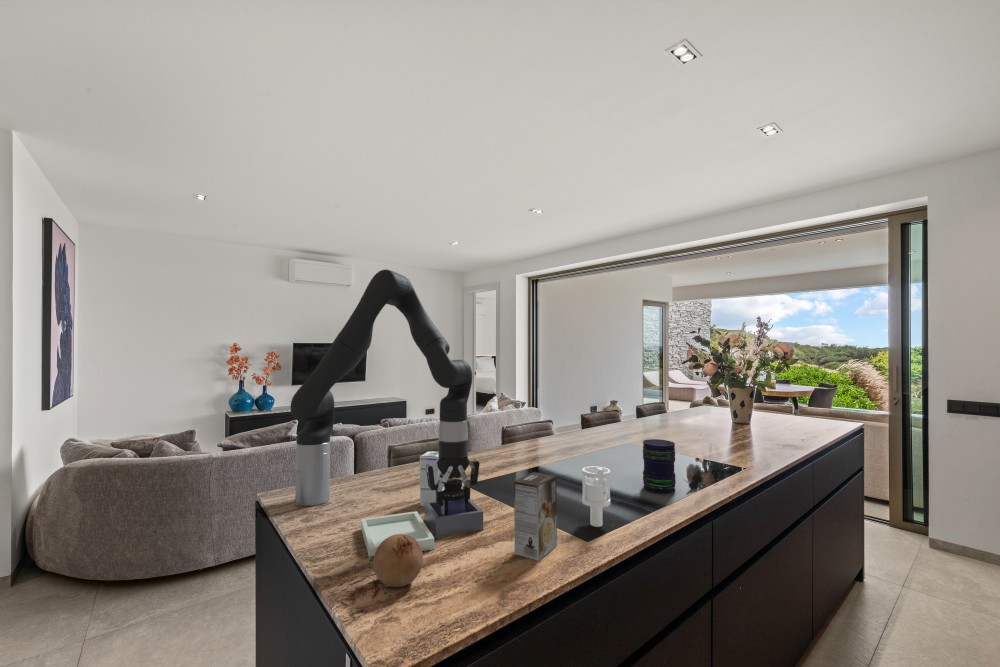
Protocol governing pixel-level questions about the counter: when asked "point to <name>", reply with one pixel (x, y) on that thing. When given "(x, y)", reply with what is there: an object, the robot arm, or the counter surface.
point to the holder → (453, 519)
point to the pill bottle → (453, 498)
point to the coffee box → (535, 515)
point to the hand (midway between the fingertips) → (452, 503)
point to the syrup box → (425, 490)
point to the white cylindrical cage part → (596, 492)
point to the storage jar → (659, 466)
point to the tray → (395, 530)
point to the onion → (398, 560)
